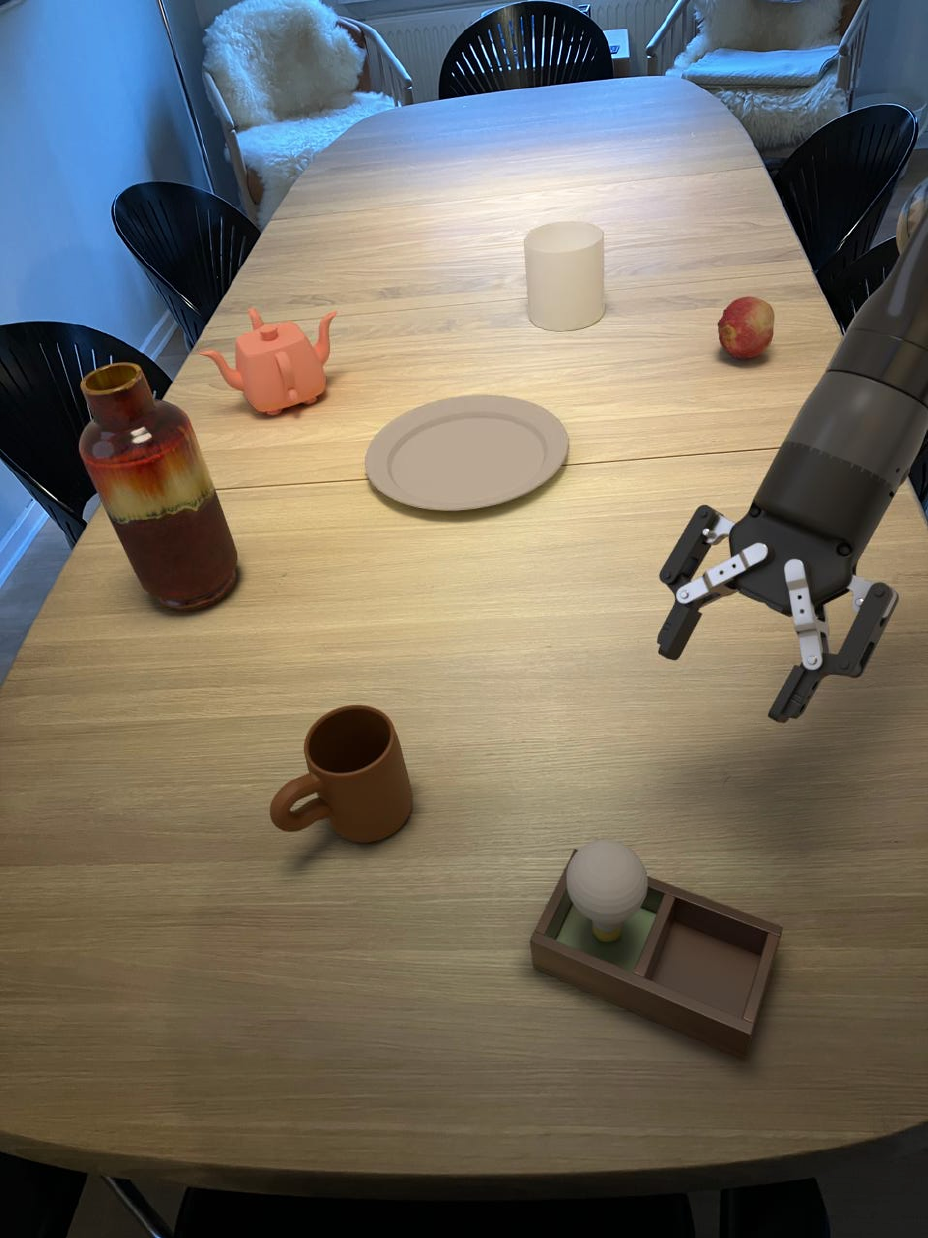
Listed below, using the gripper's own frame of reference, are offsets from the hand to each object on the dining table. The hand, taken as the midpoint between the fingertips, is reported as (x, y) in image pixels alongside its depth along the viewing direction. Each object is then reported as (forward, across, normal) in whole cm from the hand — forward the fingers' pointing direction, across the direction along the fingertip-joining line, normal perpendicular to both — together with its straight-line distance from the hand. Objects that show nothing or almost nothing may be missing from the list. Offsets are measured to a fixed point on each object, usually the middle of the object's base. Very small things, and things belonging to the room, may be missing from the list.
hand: (719, 687), depth 61 cm
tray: (+20, +3, +5) cm, 21 cm away
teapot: (-2, -89, +28) cm, 93 cm away
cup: (-32, -71, +58) cm, 97 cm away
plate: (-5, -54, +32) cm, 63 cm away
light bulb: (+20, 0, +4) cm, 21 cm away
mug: (+26, -23, 0) cm, 34 cm away
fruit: (-34, -42, +61) cm, 81 cm away
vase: (+20, -61, +6) cm, 65 cm away
